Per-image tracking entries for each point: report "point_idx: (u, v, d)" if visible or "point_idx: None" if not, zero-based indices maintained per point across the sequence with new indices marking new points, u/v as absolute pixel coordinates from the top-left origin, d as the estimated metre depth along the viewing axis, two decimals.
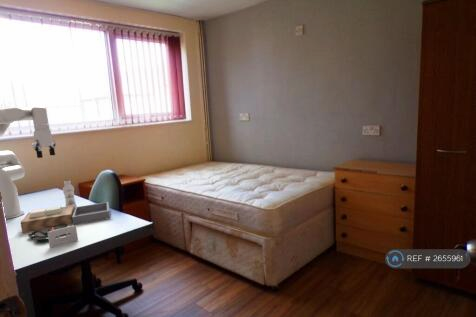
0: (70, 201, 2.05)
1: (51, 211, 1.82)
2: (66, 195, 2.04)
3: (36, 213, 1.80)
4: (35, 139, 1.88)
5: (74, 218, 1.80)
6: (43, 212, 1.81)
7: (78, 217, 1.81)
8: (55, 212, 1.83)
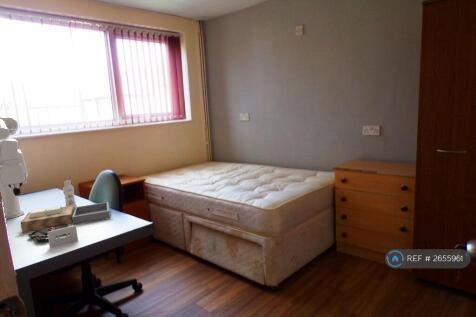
0: (70, 201, 2.05)
1: (51, 211, 1.82)
2: (66, 195, 2.04)
3: (36, 213, 1.80)
4: (24, 172, 1.77)
5: (74, 218, 1.80)
6: (43, 212, 1.81)
7: (78, 217, 1.81)
8: (55, 212, 1.83)
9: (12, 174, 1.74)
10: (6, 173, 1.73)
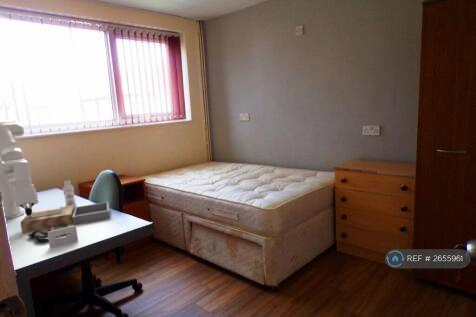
0: (70, 201, 2.05)
1: (51, 211, 1.82)
2: (66, 195, 2.04)
3: (37, 213, 1.80)
4: (35, 193, 1.81)
5: (74, 218, 1.80)
6: (44, 212, 1.81)
7: (78, 217, 1.81)
8: (55, 212, 1.83)
9: (24, 195, 1.77)
10: (18, 194, 1.76)
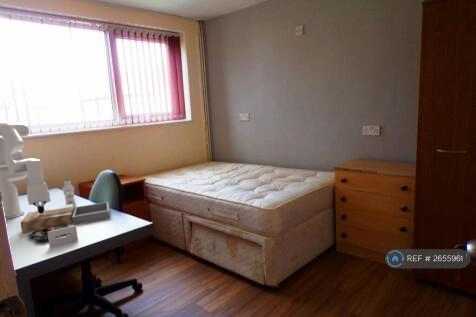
0: (70, 201, 2.05)
1: (63, 209, 1.85)
2: (66, 195, 2.04)
3: (50, 211, 1.82)
4: (48, 191, 1.83)
5: (74, 218, 1.80)
6: (56, 210, 1.83)
7: (78, 217, 1.81)
8: (67, 210, 1.85)
9: (36, 193, 1.79)
10: (31, 192, 1.78)
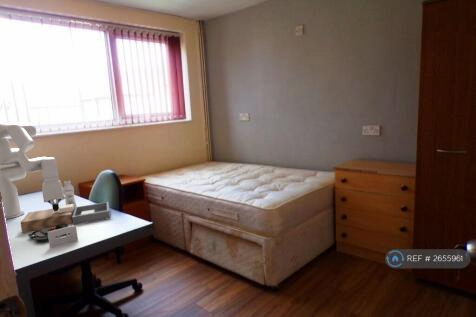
0: (70, 201, 2.05)
1: None
2: (66, 195, 2.04)
3: (64, 208, 1.85)
4: (62, 189, 1.85)
5: (74, 218, 1.80)
6: (71, 208, 1.86)
7: (78, 217, 1.81)
8: None
9: (51, 191, 1.82)
10: (46, 190, 1.81)
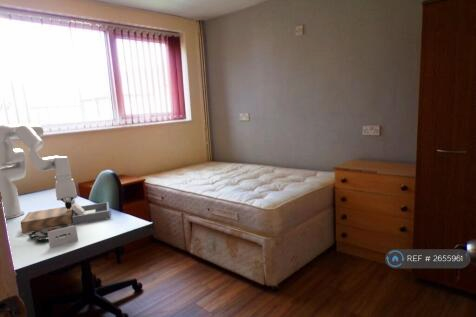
0: None
1: None
2: None
3: (77, 209, 1.88)
4: (75, 187, 1.88)
5: (74, 218, 1.80)
6: (82, 213, 1.89)
7: (78, 217, 1.81)
8: None
9: (64, 189, 1.84)
10: (59, 188, 1.83)
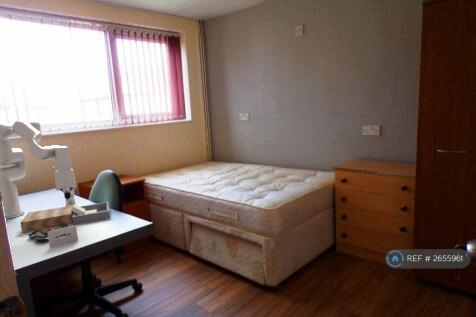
0: (70, 201, 2.05)
1: None
2: None
3: (77, 210, 1.88)
4: (74, 178, 1.87)
5: (74, 218, 1.80)
6: (83, 213, 1.89)
7: (78, 217, 1.81)
8: None
9: (64, 179, 1.84)
10: (59, 178, 1.83)
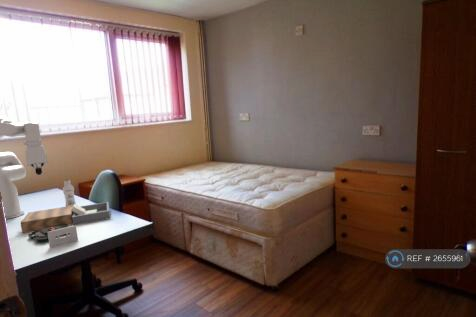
0: (70, 201, 2.05)
1: None
2: (66, 195, 2.04)
3: (77, 210, 1.88)
4: (45, 153, 1.92)
5: (74, 218, 1.80)
6: (83, 213, 1.89)
7: (78, 217, 1.81)
8: None
9: (34, 154, 1.88)
10: (29, 153, 1.87)
